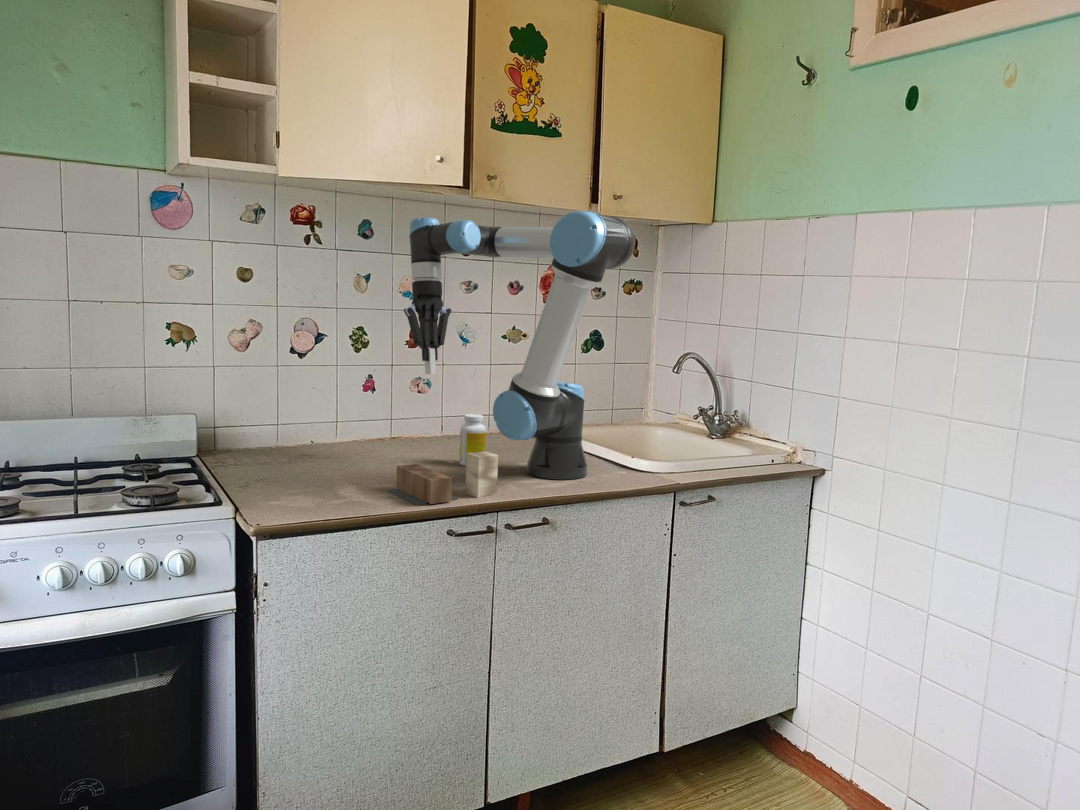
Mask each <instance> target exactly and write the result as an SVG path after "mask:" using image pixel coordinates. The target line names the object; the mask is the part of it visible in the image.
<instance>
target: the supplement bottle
mask: <svg viewBox="0 0 1080 810" xmlns="http://www.w3.org/2000/svg"><path fill="white" fill-rule="evenodd" d="M483 421H484V415H482V414H475V413H468V414H464V424H462V425H461V426H460V430H459V431H460V432H459V433H460V434H459V438H460V439H459V440H460V441H459V464H460V465H461V466H463V467H466V458H467V453H472V452H482V451H487V449H486V448H487V427H486V426H485V425H483V424H482V423H483Z"/></svg>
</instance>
